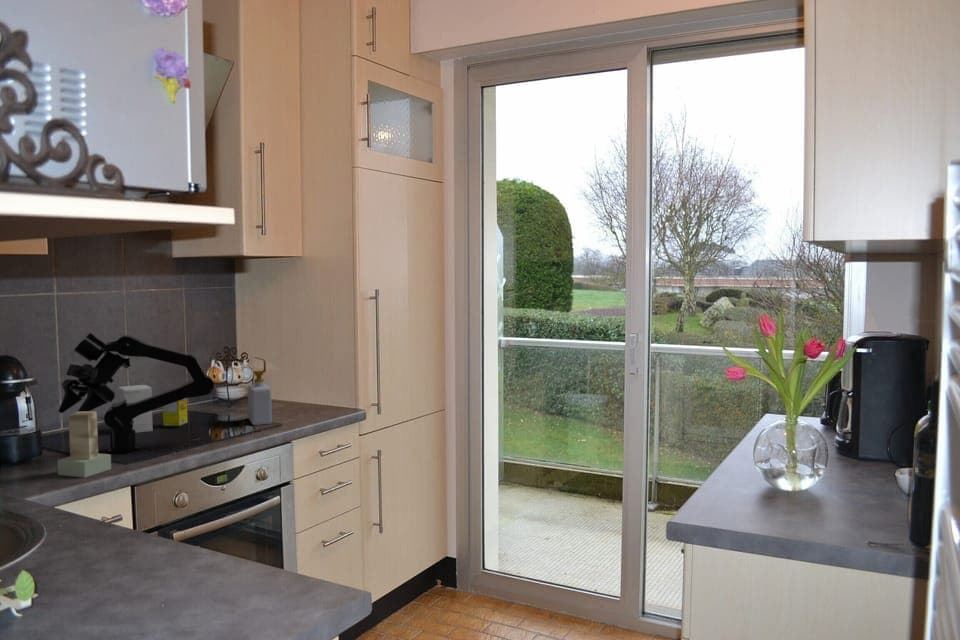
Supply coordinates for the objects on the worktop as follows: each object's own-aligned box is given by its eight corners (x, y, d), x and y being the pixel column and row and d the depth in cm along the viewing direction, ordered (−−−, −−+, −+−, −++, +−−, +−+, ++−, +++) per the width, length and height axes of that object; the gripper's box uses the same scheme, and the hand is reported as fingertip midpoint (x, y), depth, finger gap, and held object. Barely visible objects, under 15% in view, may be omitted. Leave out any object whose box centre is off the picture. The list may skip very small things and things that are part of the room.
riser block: (111, 468, 207) (110, 454, 206) (84, 477, 198) (84, 462, 198) (85, 466, 209) (84, 452, 209) (58, 474, 201) (57, 460, 201)
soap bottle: (248, 419, 275) (246, 355, 274) (267, 418, 278) (265, 354, 276) (252, 425, 264) (251, 359, 262) (272, 424, 267) (270, 358, 265)
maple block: (79, 455, 206) (77, 411, 205) (98, 454, 206) (96, 411, 205) (70, 459, 201) (68, 415, 200) (89, 459, 201) (87, 414, 200)
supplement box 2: (124, 434, 250) (122, 389, 249) (118, 430, 258) (117, 386, 257) (153, 431, 256) (152, 387, 255) (147, 426, 263) (145, 384, 262)
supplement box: (188, 424, 267) (187, 393, 266) (179, 428, 261) (178, 396, 260) (171, 424, 267) (171, 393, 266) (163, 427, 261) (162, 396, 260)
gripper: (67, 351, 223) (29, 394, 214) (103, 355, 213) (65, 399, 204) (94, 375, 230) (58, 416, 222) (130, 379, 220) (94, 423, 212)
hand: (68, 413), depth 215 cm, fingers open, 9 cm apart
